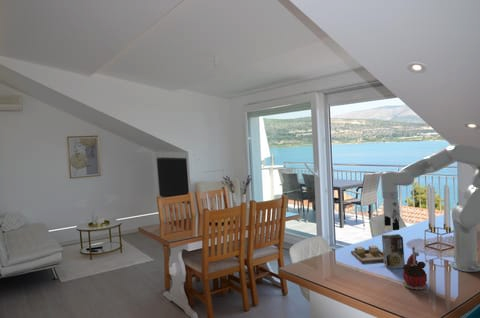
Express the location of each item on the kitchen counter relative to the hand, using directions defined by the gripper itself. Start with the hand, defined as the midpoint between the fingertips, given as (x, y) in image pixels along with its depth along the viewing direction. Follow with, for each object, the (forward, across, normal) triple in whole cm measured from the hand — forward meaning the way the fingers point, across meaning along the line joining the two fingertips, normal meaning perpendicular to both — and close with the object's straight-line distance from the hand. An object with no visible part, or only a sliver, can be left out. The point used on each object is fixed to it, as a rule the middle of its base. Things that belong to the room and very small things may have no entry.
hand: (391, 227), depth 190 cm
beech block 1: (+20, +19, +11) cm, 30 cm away
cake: (+21, -27, +2) cm, 34 cm away
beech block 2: (+19, +19, +3) cm, 28 cm away
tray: (+20, +14, +7) cm, 26 cm away
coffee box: (+21, 0, 0) cm, 21 cm away
